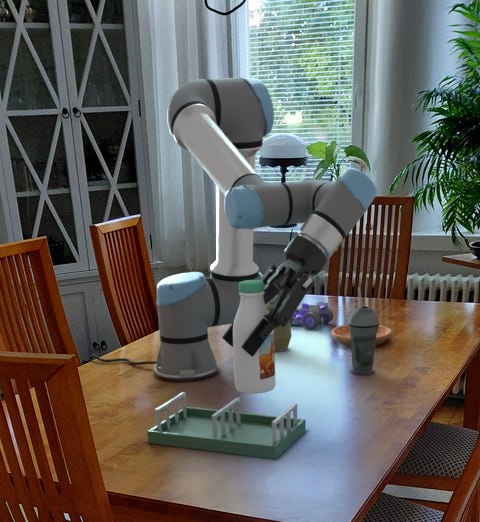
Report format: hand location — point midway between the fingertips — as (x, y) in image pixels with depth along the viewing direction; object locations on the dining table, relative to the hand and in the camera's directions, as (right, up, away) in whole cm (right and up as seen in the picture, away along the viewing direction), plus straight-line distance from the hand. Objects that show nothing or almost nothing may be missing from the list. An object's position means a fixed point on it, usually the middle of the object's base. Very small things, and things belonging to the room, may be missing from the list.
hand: (237, 346), depth 160 cm
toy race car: (+19, +25, +95) cm, 100 cm away
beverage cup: (+30, +4, +49) cm, 57 cm away
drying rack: (-2, -15, +12) cm, 20 cm away
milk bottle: (+3, -7, +5) cm, 9 cm away
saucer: (+33, +16, +75) cm, 84 cm away
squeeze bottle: (+10, +13, +71) cm, 73 cm away
